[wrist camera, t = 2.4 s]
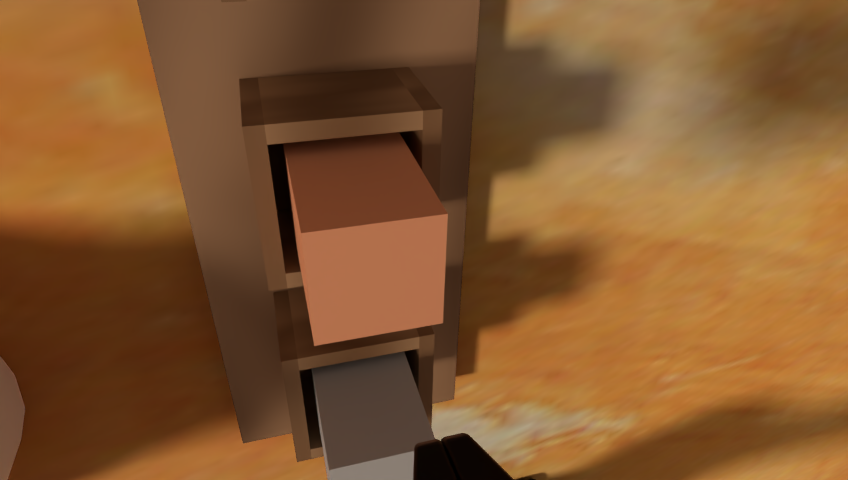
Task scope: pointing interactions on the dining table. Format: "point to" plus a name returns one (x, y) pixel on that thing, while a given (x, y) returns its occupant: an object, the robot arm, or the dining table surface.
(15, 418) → the honey pot
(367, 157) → the orange rectangular block
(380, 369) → the grey chamfered block
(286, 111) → the brown block rack
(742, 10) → the dining table surface
